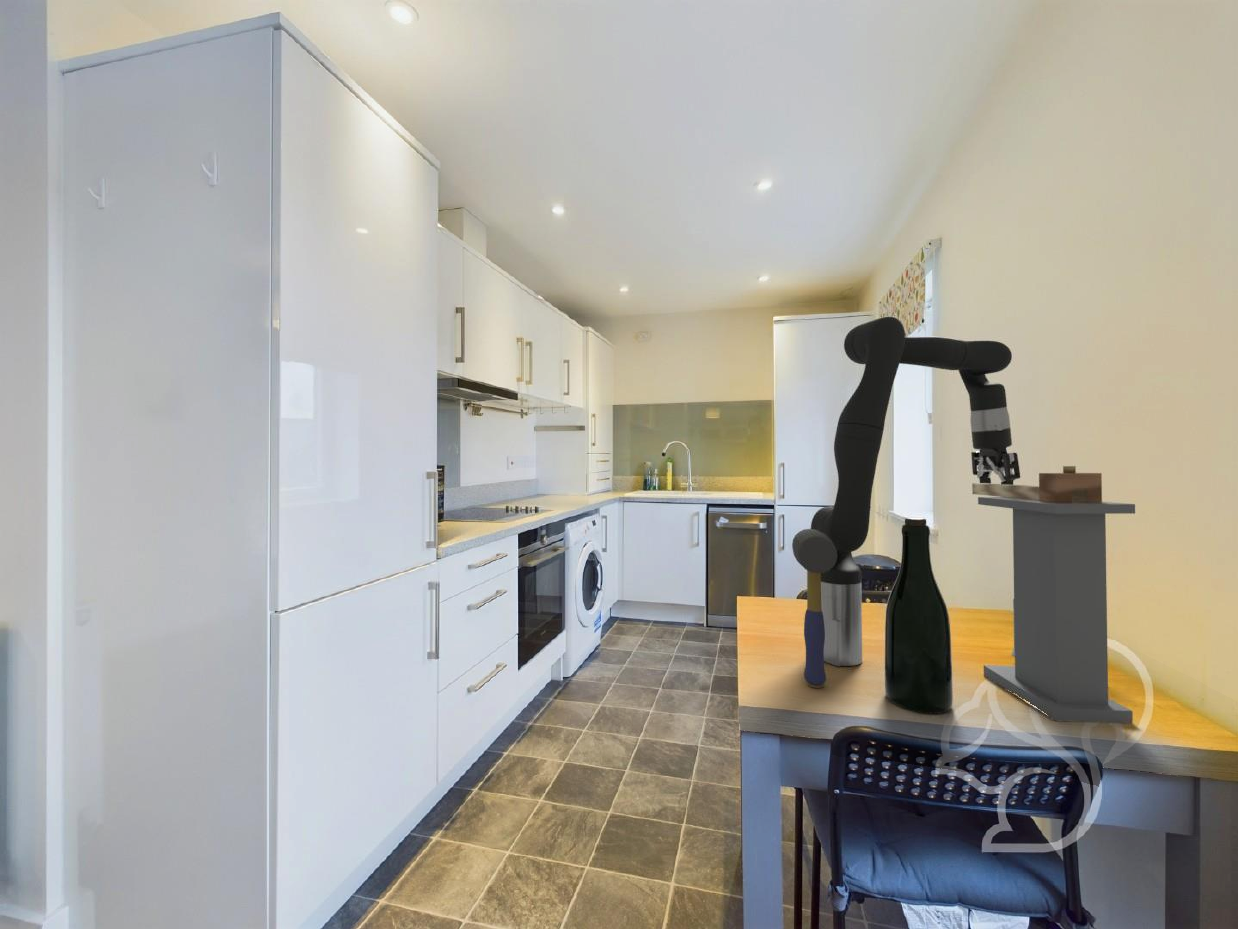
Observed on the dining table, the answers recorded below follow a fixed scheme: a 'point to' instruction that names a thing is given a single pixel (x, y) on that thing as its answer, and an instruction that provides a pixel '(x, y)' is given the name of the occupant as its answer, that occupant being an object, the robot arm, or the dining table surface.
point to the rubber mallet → (814, 598)
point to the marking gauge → (1051, 488)
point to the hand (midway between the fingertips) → (997, 494)
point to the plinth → (1060, 609)
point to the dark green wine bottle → (918, 630)
